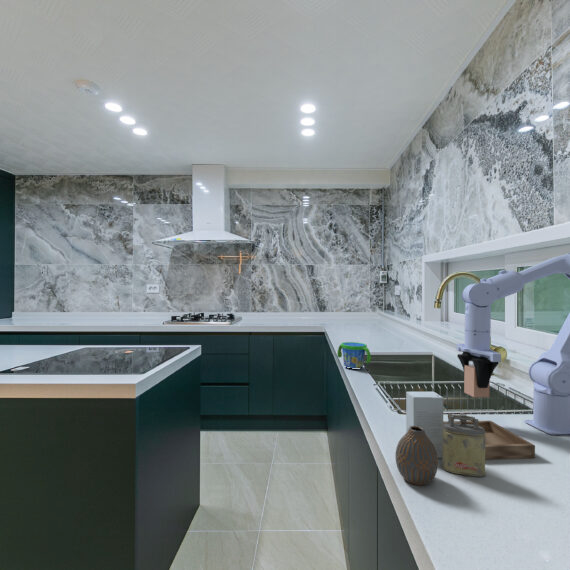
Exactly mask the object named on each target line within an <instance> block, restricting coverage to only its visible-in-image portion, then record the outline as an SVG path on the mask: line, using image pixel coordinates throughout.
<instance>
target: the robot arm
mask: <svg viewBox="0 0 570 570" xmlns="http://www.w3.org/2000/svg"><path fill="white" fill-rule="evenodd" d="M555 274H563V275H564V276H565V277H566V278H567V279H568V280H570V252H568V253H566V254H561V255H557V256H554V257H551V258H549V259H546V260H544V261H542V262H539V263H537V264H534V265H532V266H530V267H528V268H525V269H523V270H520V271H518V272H517V271H515V270H512V269H510V270H506V269H501V270H500V271H498V274H497V275H494V276H491V277H489V278H485V277H484V278H480V280H479V281H480V282H478V283H471V284H470V283H469V285H468V284H467V286H465V288H464V289H463V290H462V293H461V295H460V296H461V299H462V302H463V303H464V304H465V305H464V306H465V307H464V343H456V351H457V352H461V353H458V354H457V355H456V356H457V359H458V360H459V362H460V364H461V366H462V369H463V371H464V368H465V365H469V361H473V364H474V366H475V370H476V377H477V385H478V387H479V388H487V387H488V384H489V381H490V379H491V378H492V375H493V373H494V371H495V369H496V367H497V366H498V365H499V363H501V362H502V353H500V352H497V351H494V350H493V349H491V334H492V333H491V328H492V327H491V322H492V321H491V320H492V318H491V317H492V315H491V314H492V313H491V309H492V307H491V305H492V304H494V302H495V301H498V300H500V299H503V298H506V297H509V296H511V295H514V294H516V293H519V292H521V291H522V290H523V289H524V287H525V285H526V284H529V283H532V282H534V281H537V280H540V279H543V278H546V277H549V276H551V275H555ZM527 374H528V377H529V379H530V380H531V382H533V405H532V406H533V407H532V408H533V409H532V410H533V411H532V412H533V415H532V416H533V417H532V419H525V420H524V421H523V422H524V423H525V424H528V425H530V426H532V427H533V428H536V429H537V430H540V431H542V432H544V433H546V434H548V435H555V436H556V435H570V312H569V313H568V315H567V317H566V319H565V320H564V323H563V325H562V326H561V328H560V329H559V332H558V333H557V336H556V337H555V340H554V341H553V343H552V345H551V347H550V348H549V349H548V350H546V351H544V352H542V353H541V354H540V356H539V357H538V358H537V360H536V361H533V363H531V364H530V366H529V367H528V373H527Z"/></svg>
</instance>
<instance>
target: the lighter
mask: <svg viewBox="0 0 570 570" xmlns="http://www.w3.org/2000/svg"><path fill="white" fill-rule="evenodd" d="M455 420H457V421H461V423H454V421H455ZM447 421H448V422H446V423H444V429H443V458H442V464H441V468H442V469H444V470H445V471H446V472H448V473H449V472H450V473H451V474H458V475H461V476H465V477H469V476H471V477H478V478H480V477H485V476H486V459H485V429H484V428H482V427H480V426H478V421H479V419H478V418H476V417H475V416H470V415H467V414H466V413H459V414H452V413H447ZM467 421H472V422H473V423H474V425H471V424H465V422H467Z"/></svg>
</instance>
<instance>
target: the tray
mask: <svg viewBox="0 0 570 570" xmlns="http://www.w3.org/2000/svg"><path fill="white" fill-rule="evenodd" d="M446 422H448V420H447V421H444V420H443V429H444V423H446ZM454 423H461V421H460V420H454ZM465 424H471V425H474V423H473V422H472V421H468V420H467V422H465ZM478 426H480V427H482V428H484V429H485V460H508V459H510V460H511V459H512V460H515V459H536V445H535V444H533V443H531V442H529V441H528V440H526V439H524V438H522V437H521V436H519V435H517V434H515V433H514V432H512V431H510V430H508V429H506V428H504V427H502V426H501V425H499V424H498V423H496V422H493V421H492V420H478Z"/></svg>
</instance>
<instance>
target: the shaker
mask: <svg viewBox="0 0 570 570" xmlns="http://www.w3.org/2000/svg"><path fill="white" fill-rule="evenodd" d="M463 373H464V374H463V375H464V377H463V378H464V380H463V383H464V384H463V385H464V387H463V389H464V391H463V393H464V394H467V395H469V396H471V397H473V398H490V383H491V382H490V381H489V384H488V387H487V388H479V387H478V385H477V377H476V370H475V366H474V364H473V361H469V365H465V368H464V370H463Z"/></svg>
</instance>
